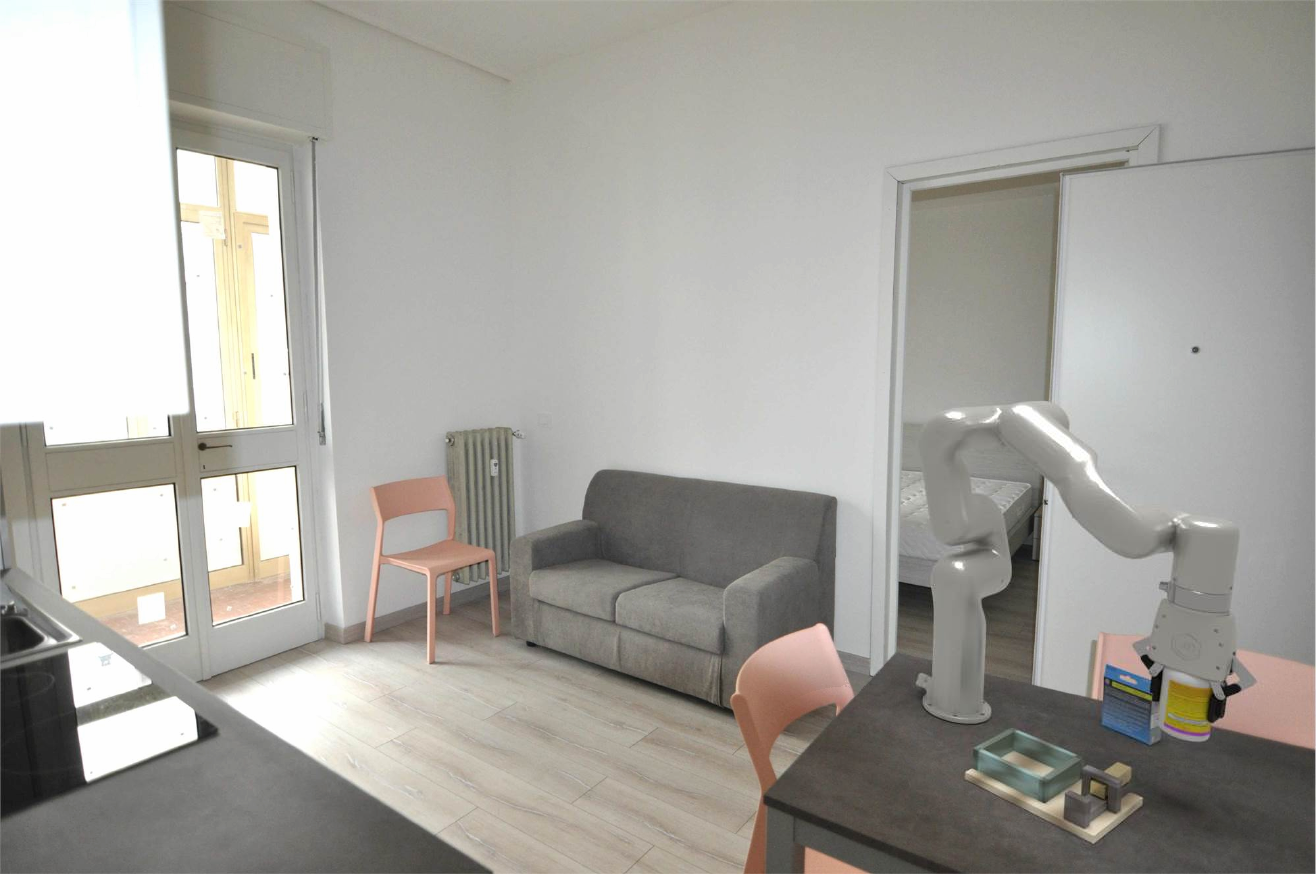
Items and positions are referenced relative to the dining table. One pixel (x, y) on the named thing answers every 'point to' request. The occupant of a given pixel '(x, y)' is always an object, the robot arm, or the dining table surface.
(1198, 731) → the supplement bottle
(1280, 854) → the dining table surface
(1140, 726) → the label tape box
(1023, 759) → the dock
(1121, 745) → the dining table surface
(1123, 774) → the lock bolt
